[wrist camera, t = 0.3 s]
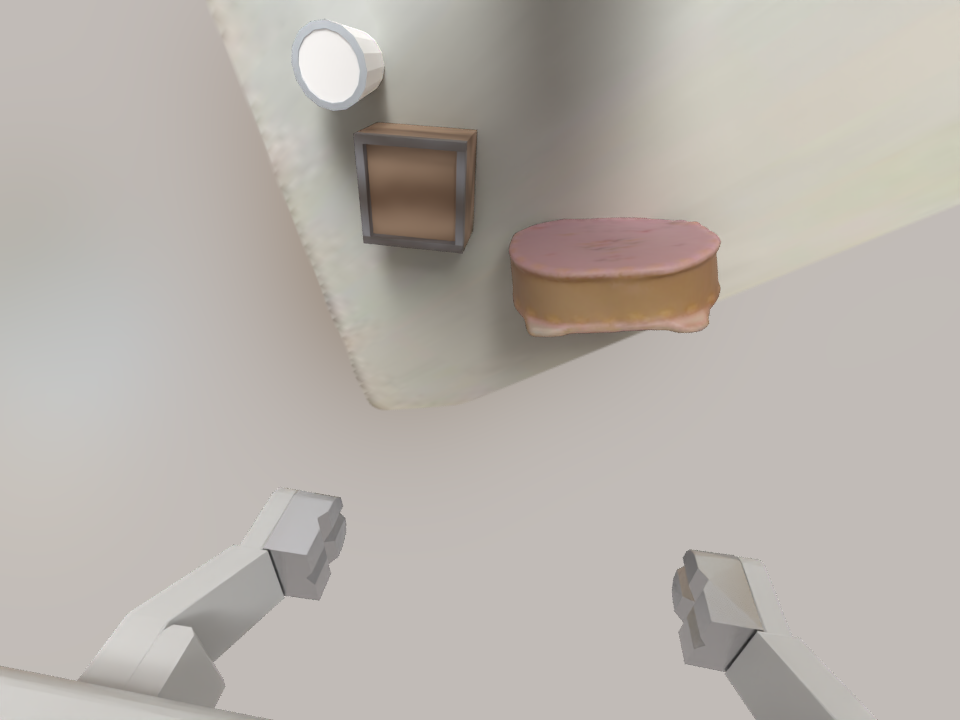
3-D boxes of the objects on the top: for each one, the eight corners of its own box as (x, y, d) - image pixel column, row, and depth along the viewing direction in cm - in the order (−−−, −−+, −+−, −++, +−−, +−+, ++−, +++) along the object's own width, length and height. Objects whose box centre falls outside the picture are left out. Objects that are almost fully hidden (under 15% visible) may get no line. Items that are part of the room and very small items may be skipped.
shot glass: (326, 98, 50) (295, 106, 44) (319, 16, 46) (284, 14, 40) (391, 105, 49) (368, 115, 43) (389, 24, 45) (364, 23, 39)
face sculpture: (517, 272, 57) (503, 347, 44) (510, 215, 54) (492, 277, 40) (696, 256, 53) (741, 333, 40) (701, 193, 50) (753, 254, 36)
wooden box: (377, 122, 50) (353, 133, 44) (477, 129, 49) (465, 142, 43) (384, 221, 56) (363, 243, 50) (472, 230, 55) (462, 253, 50)
